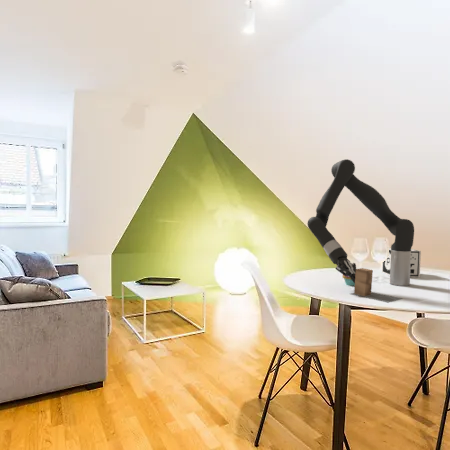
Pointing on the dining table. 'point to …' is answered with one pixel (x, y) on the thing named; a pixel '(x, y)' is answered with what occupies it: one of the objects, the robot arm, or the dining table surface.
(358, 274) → the walnut block
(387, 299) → the mat
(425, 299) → the dining table surface
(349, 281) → the cupcake
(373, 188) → the robot arm
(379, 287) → the dining table surface
